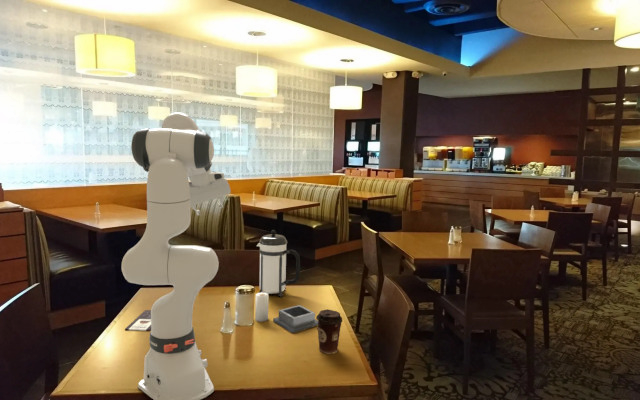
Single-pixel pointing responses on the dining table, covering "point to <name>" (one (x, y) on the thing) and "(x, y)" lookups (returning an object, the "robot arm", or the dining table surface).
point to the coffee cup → (328, 330)
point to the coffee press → (275, 264)
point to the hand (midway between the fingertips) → (210, 211)
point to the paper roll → (261, 307)
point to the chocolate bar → (141, 322)
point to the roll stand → (296, 318)
